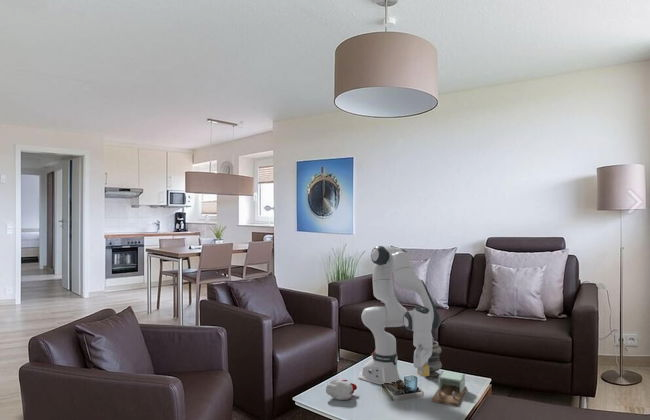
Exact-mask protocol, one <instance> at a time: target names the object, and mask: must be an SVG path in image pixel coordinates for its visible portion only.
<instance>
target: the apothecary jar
mask: <svg viewBox="0 0 650 420" xmlns="http://www.w3.org/2000/svg"><path fill="white" fill-rule="evenodd" d="M441 353H442V348H441V346H439V342H438V341H436V340H434V342H433V347H432V355H431V357H430V358H429V359H428V364H427V365H428V366H429V376H424V377H423V378H427V377H428V378H427V379H435V378H436V379H437V378H438V377H439V375H440V374H441V373H439V372H438V371H440V370H441V369H442V366H443V364H442V362H441V360H440V354H441Z"/></svg>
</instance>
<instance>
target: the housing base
mask: <svg viewBox="0 0 650 420" xmlns="http://www.w3.org/2000/svg"><path fill="white" fill-rule="evenodd" d="M466 391H467V386H466V385H465V388H464V390H463V392H462V393H460V387H459V386H453V385H448V384H444V385H443V386H442V388H441V389H439V388H438V389H437V390H436V392H435V393H434V395H433V396H432V398H431V402H432V403H433V402H435V403H438V404H445V405H450V406H456V407H459V405H460V403H461V400H462V399H463V397H464V395H465V393H466Z"/></svg>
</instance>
